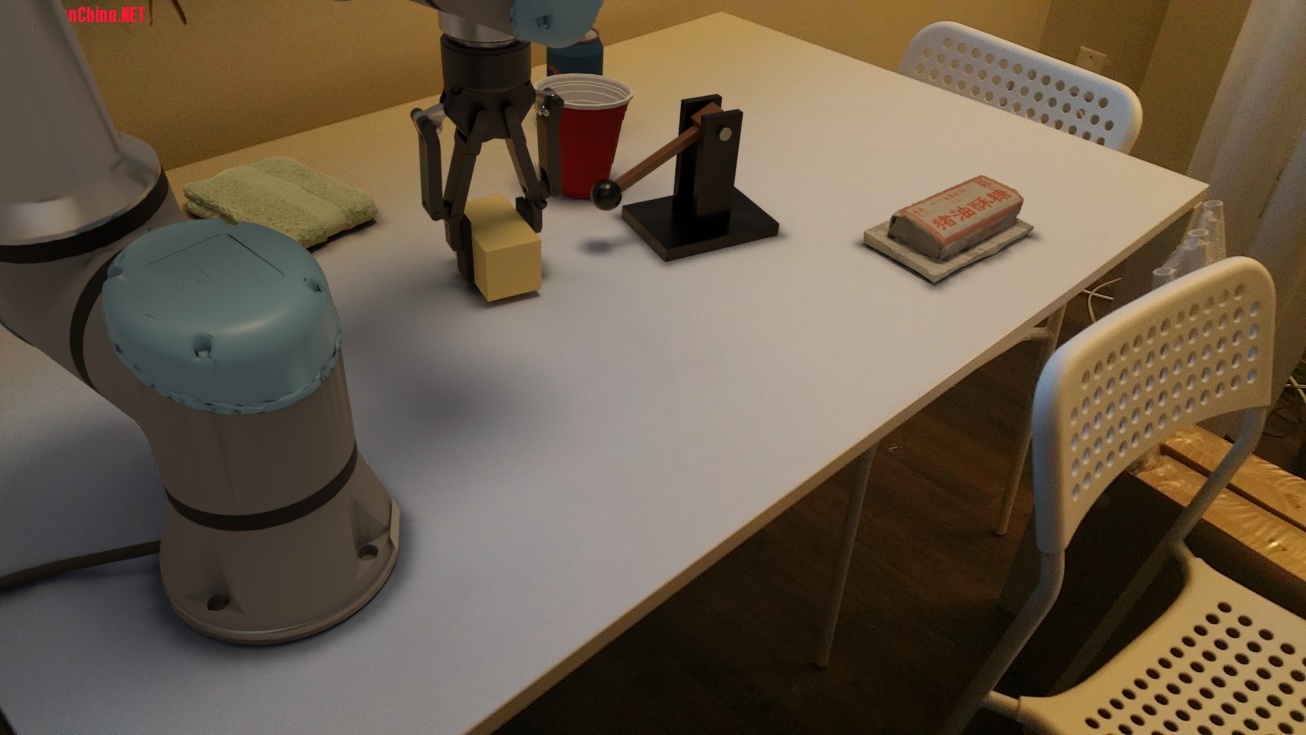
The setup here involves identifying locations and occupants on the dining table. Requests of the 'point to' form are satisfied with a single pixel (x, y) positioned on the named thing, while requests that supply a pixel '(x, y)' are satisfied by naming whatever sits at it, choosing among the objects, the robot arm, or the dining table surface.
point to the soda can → (577, 57)
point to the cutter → (702, 192)
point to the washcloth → (282, 199)
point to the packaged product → (952, 227)
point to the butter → (503, 249)
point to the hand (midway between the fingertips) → (496, 267)
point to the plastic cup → (588, 127)
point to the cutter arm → (646, 165)
